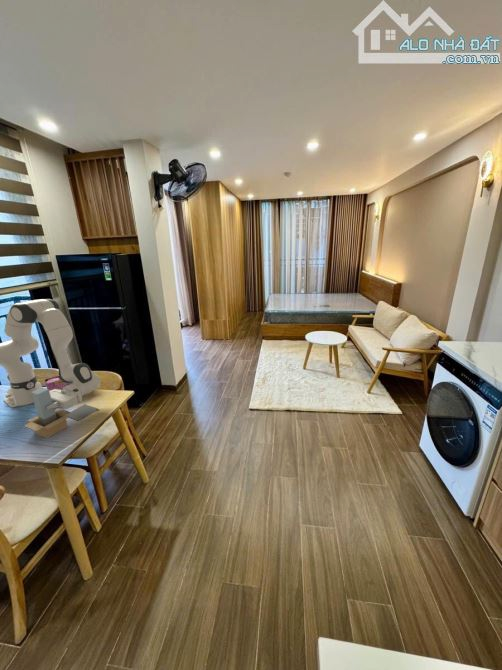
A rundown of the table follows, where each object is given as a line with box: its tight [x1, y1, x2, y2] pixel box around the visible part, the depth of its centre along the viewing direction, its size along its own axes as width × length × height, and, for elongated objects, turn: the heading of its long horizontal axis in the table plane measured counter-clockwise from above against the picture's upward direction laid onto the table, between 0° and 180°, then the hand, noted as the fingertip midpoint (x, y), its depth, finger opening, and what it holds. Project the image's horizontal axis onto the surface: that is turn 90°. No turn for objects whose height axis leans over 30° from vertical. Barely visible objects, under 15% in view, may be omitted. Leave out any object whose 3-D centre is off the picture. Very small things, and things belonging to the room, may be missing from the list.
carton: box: [23, 407, 71, 439], centre depth 130 cm, size 16×16×7 cm
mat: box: [66, 403, 100, 422], centre depth 145 cm, size 12×12×1 cm
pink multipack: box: [44, 375, 73, 391], centre depth 163 cm, size 24×8×14 cm, turn 134°
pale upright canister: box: [31, 386, 57, 427], centre depth 127 cm, size 5×5×20 cm
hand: (42, 406), depth 126 cm, fingers closed on pale upright canister, 5 cm apart
